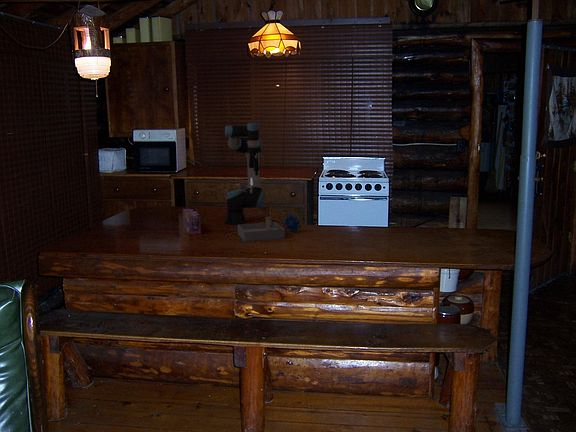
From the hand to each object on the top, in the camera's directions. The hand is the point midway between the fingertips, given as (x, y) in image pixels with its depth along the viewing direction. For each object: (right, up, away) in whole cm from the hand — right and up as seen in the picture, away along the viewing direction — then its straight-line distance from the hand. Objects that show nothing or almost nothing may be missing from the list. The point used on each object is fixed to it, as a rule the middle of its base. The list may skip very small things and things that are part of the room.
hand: (254, 179), depth 379 cm
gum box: (-42, -34, +8) cm, 55 cm away
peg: (+10, -37, -8) cm, 39 cm away
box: (+5, -37, -9) cm, 39 cm away
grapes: (+25, -35, +1) cm, 43 cm away
